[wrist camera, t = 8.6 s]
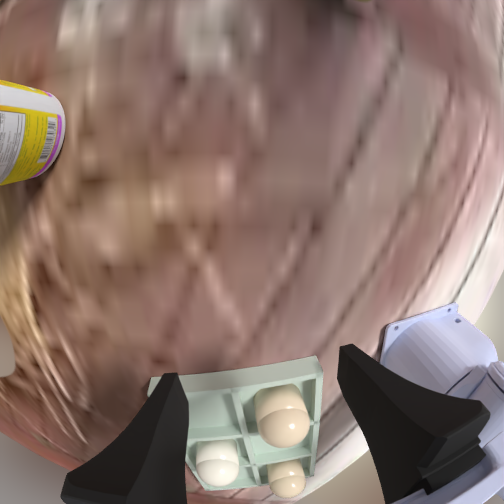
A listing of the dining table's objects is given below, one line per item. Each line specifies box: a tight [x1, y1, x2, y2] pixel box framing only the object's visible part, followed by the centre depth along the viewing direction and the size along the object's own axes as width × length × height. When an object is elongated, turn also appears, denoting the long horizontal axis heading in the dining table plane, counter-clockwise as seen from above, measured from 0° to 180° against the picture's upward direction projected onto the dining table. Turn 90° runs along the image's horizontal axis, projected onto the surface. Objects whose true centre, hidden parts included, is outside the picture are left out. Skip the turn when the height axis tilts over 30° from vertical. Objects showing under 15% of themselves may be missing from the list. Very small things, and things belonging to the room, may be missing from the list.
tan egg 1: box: [253, 383, 310, 448], centre depth 21 cm, size 4×4×5 cm
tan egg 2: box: [266, 458, 306, 498], centre depth 26 cm, size 4×4×5 cm
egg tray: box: [147, 355, 323, 491], centre depth 25 cm, size 15×22×2 cm
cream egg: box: [196, 439, 239, 487], centre depth 23 cm, size 4×4×5 cm
